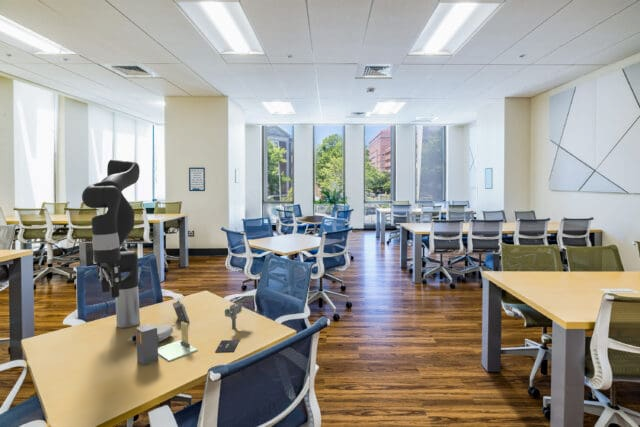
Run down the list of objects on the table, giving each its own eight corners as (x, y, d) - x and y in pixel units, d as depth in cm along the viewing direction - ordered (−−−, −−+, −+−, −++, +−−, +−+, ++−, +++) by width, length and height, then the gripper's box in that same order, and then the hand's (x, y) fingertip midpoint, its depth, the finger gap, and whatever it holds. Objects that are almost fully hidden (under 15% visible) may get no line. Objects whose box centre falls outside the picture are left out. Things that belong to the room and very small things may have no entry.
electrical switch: (189, 322, 160) (186, 302, 159) (177, 325, 158) (174, 305, 157) (186, 316, 168) (183, 297, 167) (174, 319, 166) (171, 300, 165)
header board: (152, 350, 132) (151, 326, 131) (180, 341, 140) (179, 317, 139) (168, 361, 123) (167, 335, 123) (197, 350, 132) (196, 326, 131)
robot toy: (126, 348, 137) (163, 346, 136) (124, 336, 136) (162, 334, 135) (144, 335, 149) (178, 333, 148) (142, 324, 149) (177, 322, 148)
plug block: (136, 361, 124) (135, 328, 123) (151, 355, 128) (150, 323, 127) (143, 366, 120) (141, 332, 120) (158, 360, 124) (157, 327, 123)
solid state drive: (214, 353, 130) (214, 351, 130) (221, 342, 140) (221, 340, 140) (233, 353, 130) (233, 351, 130) (239, 341, 140) (239, 339, 140)
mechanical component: (223, 332, 148) (223, 309, 148) (238, 323, 158) (237, 301, 157) (229, 333, 147) (229, 310, 147) (243, 324, 157) (243, 302, 156)
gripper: (86, 246, 117) (90, 293, 119) (101, 251, 108) (106, 302, 110) (110, 242, 123) (114, 287, 125) (127, 247, 114) (131, 295, 115)
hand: (110, 294), depth 117 cm, fingers open, 8 cm apart
